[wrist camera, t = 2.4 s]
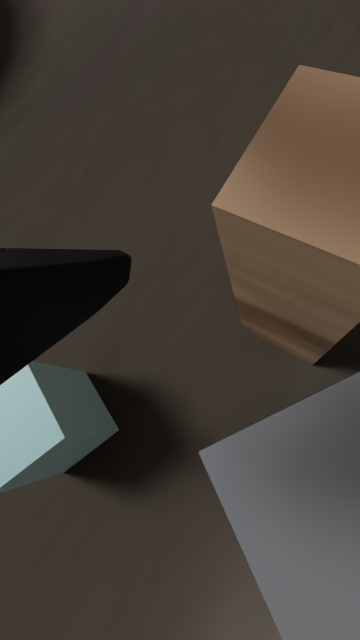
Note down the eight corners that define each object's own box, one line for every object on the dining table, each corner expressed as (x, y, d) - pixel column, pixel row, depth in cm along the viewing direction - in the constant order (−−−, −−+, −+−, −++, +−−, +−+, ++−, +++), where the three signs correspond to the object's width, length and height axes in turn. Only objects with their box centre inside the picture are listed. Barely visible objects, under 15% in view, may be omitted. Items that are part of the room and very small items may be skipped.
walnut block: (312, 365, 19) (403, 281, 6) (242, 328, 20) (211, 204, 8) (348, 299, 19) (498, 106, 7) (278, 268, 21) (299, 64, 8)
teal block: (63, 472, 21) (-12, 496, 15) (34, 412, 22) (-43, 413, 17) (119, 429, 20) (64, 437, 15) (86, 372, 22) (25, 359, 16)
